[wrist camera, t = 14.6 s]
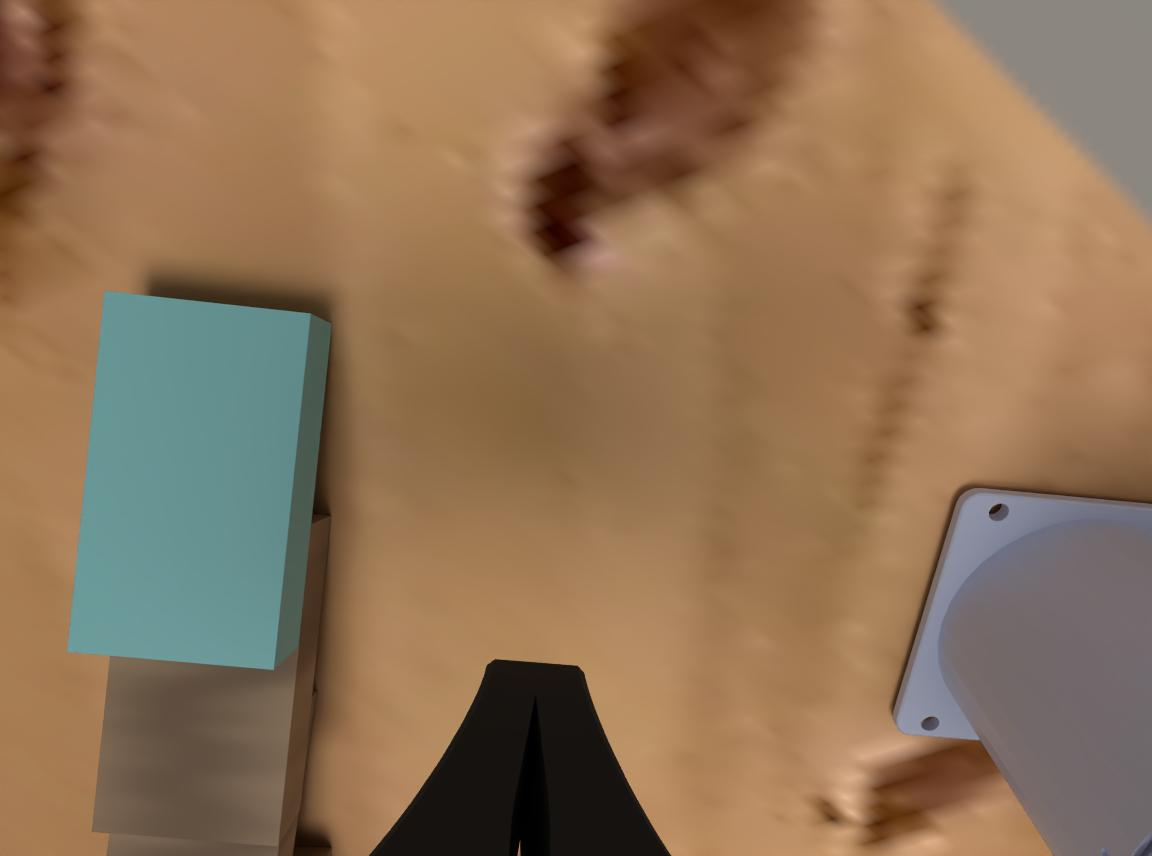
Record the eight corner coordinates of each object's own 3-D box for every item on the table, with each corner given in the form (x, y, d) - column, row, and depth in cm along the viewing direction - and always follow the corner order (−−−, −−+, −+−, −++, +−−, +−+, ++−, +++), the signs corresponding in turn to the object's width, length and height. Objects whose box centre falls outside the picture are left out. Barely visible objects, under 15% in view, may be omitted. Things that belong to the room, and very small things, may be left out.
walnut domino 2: (298, 717, 23) (255, 1001, 23) (317, 690, 25) (277, 952, 25) (129, 694, 23) (88, 981, 23) (162, 669, 25) (123, 934, 25)
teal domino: (310, 313, 19) (273, 670, 19) (331, 323, 21) (298, 646, 21) (104, 291, 19) (67, 651, 19) (146, 303, 21) (112, 629, 21)
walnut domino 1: (311, 524, 21) (278, 846, 21) (331, 515, 23) (300, 809, 23) (125, 506, 21) (91, 831, 21) (161, 498, 23) (130, 795, 23)
